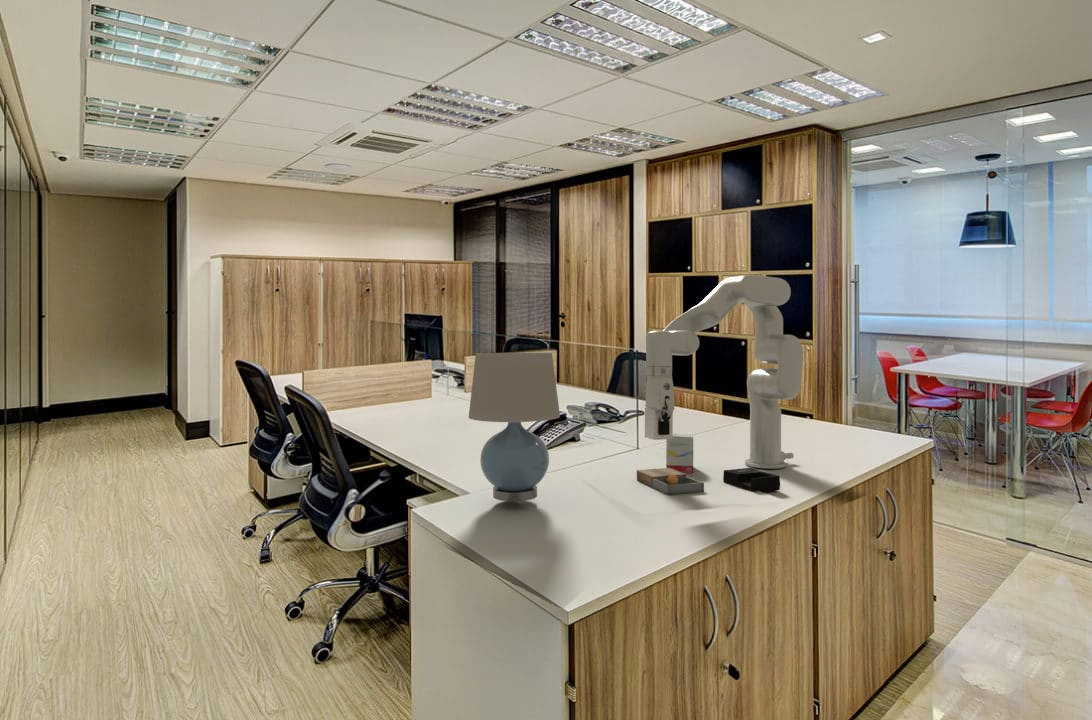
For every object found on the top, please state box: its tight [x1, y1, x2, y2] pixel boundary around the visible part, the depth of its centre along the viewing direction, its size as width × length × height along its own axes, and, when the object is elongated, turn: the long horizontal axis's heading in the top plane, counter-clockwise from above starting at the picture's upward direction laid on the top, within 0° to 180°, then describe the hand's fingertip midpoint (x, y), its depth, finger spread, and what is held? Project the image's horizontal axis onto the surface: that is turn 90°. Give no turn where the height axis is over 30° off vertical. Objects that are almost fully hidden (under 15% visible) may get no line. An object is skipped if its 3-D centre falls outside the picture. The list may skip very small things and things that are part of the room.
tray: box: [650, 475, 705, 496], centre depth 172 cm, size 11×10×2 cm
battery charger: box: [722, 467, 781, 493], centre depth 176 cm, size 13×10×4 cm
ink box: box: [665, 432, 694, 474], centre depth 197 cm, size 9×9×12 cm
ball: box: [667, 475, 678, 485], centre depth 174 cm, size 3×3×3 cm
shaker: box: [644, 407, 674, 441], centre depth 181 cm, size 6×6×10 cm
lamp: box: [468, 352, 561, 502], centre depth 166 cm, size 25×25×39 cm
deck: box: [636, 467, 687, 488], centre depth 181 cm, size 11×10×3 cm
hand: (658, 432), depth 182 cm, fingers closed on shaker, 6 cm apart
